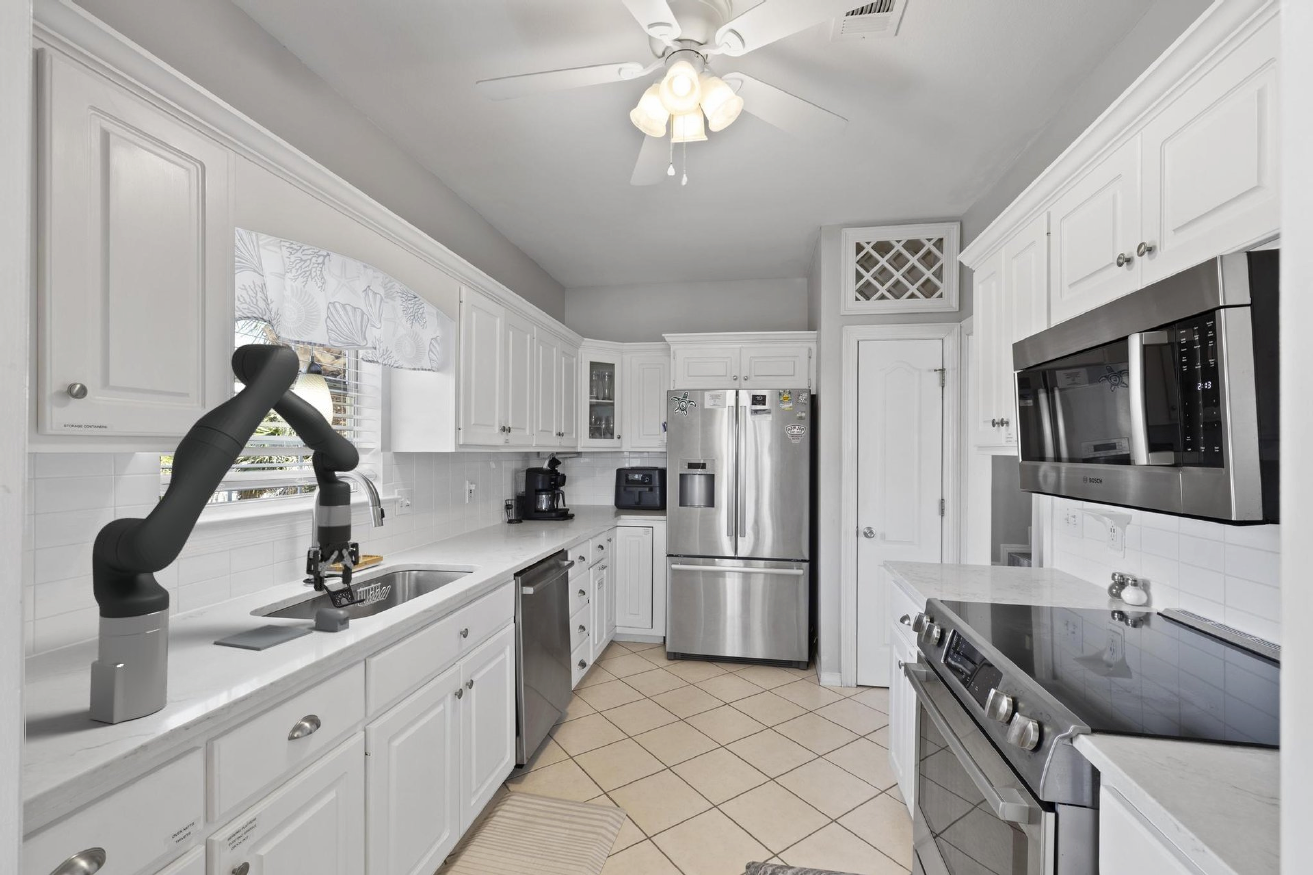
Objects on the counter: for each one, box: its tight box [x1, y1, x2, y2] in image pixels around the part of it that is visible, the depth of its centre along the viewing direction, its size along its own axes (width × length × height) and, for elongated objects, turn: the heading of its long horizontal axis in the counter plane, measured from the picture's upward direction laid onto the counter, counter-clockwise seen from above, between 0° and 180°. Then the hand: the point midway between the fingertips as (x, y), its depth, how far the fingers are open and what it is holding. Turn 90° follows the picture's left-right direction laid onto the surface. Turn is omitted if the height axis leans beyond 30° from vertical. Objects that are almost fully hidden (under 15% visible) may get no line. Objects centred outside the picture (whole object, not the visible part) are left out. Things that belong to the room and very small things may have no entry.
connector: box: [313, 607, 350, 633], centre depth 152 cm, size 4×8×5 cm, turn 73°
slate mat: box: [213, 624, 314, 651], centre depth 144 cm, size 14×14×1 cm
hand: (333, 587), depth 152 cm, fingers open, 8 cm apart
